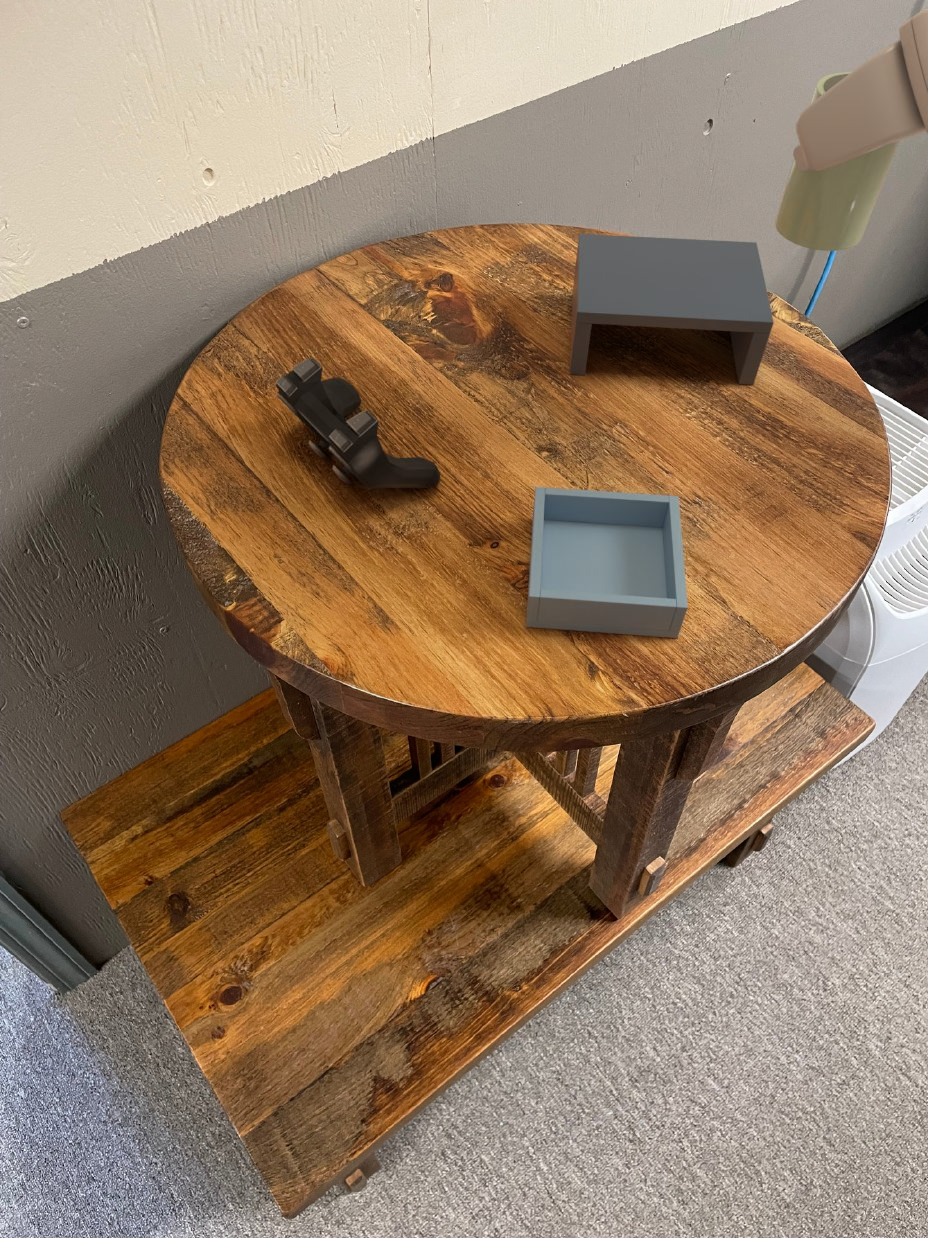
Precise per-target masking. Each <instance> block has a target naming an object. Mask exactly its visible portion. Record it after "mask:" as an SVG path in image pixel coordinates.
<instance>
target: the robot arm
mask: <svg viewBox="0 0 928 1238" xmlns="http://www.w3.org/2000/svg"><path fill="white" fill-rule="evenodd" d="M898 33H899V39H898V40H896V41H894V42H893V43H891V44H890V45H888V46H886V47H885V48H883V49H882V50H880V51H878V52H877V53H876V54H874V55H872V56H871V57H870V58H869V59H867V60H866V61H864V62H863V63H862V64H860V65H859V66H857V67H856V68H855V69H853V70H852V71H850V72H851V73H850V74H849V75H847V76H846V77H845V78H843V79H842V80H841V81H839V82H838V83H837V84H836V85H834V86H833V87H832V88H830V89H829V90H828V91H827V92H825V93H824V94H823V95H821V96H820V97H819V98H818V99H816V100H815V101H814V102H812V103H811V102H810V104H809V105H808V106H806V108H804V109H803V111H801V113H800V114H799V116H798V118H797V120H796V123H795V131H796V135H797V138H798V139H797V140H798V144H799V143H800V145H798V144H797V145H796V146H795V148H794V149H793V154H792V155H793V159H794V158H795V162H796V165H797V168H798V170H799V171H801V172H805V171H807V170H811V171H820V170H824V169H827V168H830V167H832V166H835V165H838V164H840V163H843V162H845V161H848V160H850V159H853V158H856V157H858V156H861V155H863V154H866V153H868V152H871V151H873V150H876V149H878V148H881V147H883V146H886V145H888V144H891V143H894V142H897V141H899V140H900V141H902V140H905V139H908V138H910V137H914V136H917V135H921V134H924V133H927V134H928V7H926V8H923V9H922V10H921V11H919V12H917V13H915V14H914V15H912V17H909V19H907V20H906V21H904V22H903V23H902V24H901V25H900V26H899V29H898Z"/></svg>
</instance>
